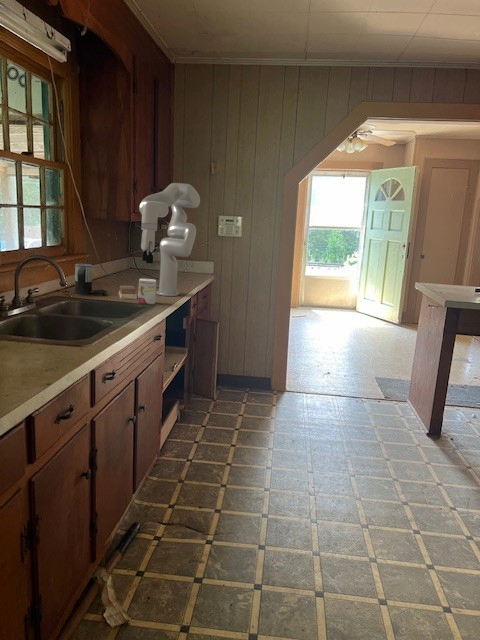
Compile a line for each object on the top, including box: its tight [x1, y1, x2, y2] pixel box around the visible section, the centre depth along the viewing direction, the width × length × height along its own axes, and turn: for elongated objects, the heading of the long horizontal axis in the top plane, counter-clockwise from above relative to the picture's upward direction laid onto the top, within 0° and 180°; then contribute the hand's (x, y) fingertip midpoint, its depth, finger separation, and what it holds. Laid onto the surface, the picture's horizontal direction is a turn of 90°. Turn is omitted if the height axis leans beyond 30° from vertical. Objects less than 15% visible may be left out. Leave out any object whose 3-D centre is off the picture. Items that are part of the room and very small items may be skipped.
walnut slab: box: [119, 285, 136, 294], centre depth 252 cm, size 7×7×3 cm
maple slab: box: [118, 290, 138, 300], centre depth 252 cm, size 8×8×3 cm
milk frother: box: [73, 263, 108, 295], centre depth 252 cm, size 14×16×15 cm
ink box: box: [137, 278, 157, 305], centre depth 242 cm, size 9×5×12 cm, turn 100°
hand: (147, 262), depth 239 cm, fingers open, 9 cm apart
